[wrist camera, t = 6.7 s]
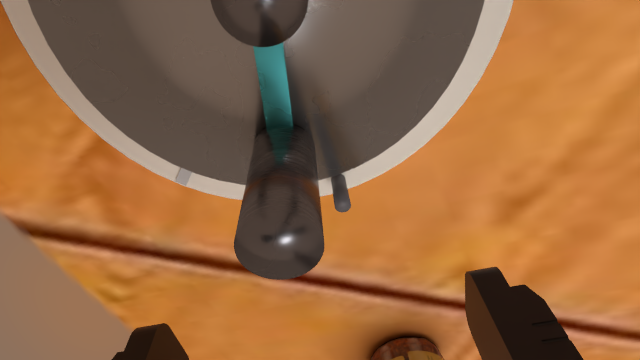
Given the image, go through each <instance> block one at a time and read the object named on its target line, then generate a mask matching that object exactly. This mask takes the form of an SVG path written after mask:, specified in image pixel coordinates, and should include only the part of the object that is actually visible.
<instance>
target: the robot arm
mask: <svg viewBox="0 0 640 360" xmlns="http://www.w3.org/2000/svg"><path fill="white" fill-rule="evenodd" d="M465 308H466V317H467V321H468V325H469V328H470V331H471V334H472V336H473V339H474V341H475V343H476V346H477V348H478V351H479V353H480V355H481V358H482V360H583V358H582V357H581V355H580V354H579V352H578V350H577V349H576V347H575V346H574V344H573V343H572V341H571V340H569V339H568V335H567V334H566V332H565V331H564V329H563V328H562V326H561V325H560V324H559V323H558V322H557V319H556V317H555V316H554V314H553V312H552V311H551V309H550V308H549V306H548V305H547V303H546V302H545V300H544V299H542V298H541V297H540V296H539V295H537V294H536V293H535V292H533V291H532V290H531V289H530V288H528V287H527V286H526V285H519V286H513V287H510V286H509V285H508V283H507V281H506V279H505V278H504V276H503V274H502V273H501V271H500V270H499V269H498V268H497V267H491V268H485V269H479V270H474V271H468V272H466V274H465ZM112 360H189V358H188V355H187V354H186V352H185V350H184V349H183V347H182V346H181V344H180V343H179V341H178V340H177V338H176V336H175V335H174V333H173V332H172V330H171V329H170V327H169V326H168V325H167V324H165V323H163V324H157V325H151V326H146V327H140V328H136V329H135V330H134V331H133V332H132V334H131V336H130V338H129V340H128V343H127V345H126V348H125V350H124V351H123V352H118V353H117V354H116V355H115V356H114V358H113V359H112Z"/></svg>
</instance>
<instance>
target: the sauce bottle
mask: <svg viewBox="0 0 640 360" xmlns="http://www.w3.org/2000/svg"><path fill="white" fill-rule="evenodd" d="M371 360H444V359H443V357H442V355H441V354H440V352H439V350H438V349H437V348H436V346H435V345H434V344H433V343H432V342H430V341H428V340H427V339H425V338H398V339H395V340H393V341H389V342H388V343H386V344H384V345H383V346H381V347H379V348H378V349H377V351H376V352H374V354H373V356H372V357H371Z"/></svg>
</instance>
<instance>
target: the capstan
mask: <svg viewBox="0 0 640 360" xmlns="http://www.w3.org/2000/svg"><path fill="white" fill-rule="evenodd" d="M28 3H29V5H30V8H31V11H32V13H33V16H34V18H35V20H36V22H37V24H38V26H39V28H40V30H41V32H42V34H43V36H44V38H45V40H46V42H47V44H48V46H49V47H50V49H51V50H52V52H53V54H54V55H55V57H56V58H57V60H58V61H59V63H60V65H61V66H62V68H63V69H64V71H65V72H66V74H67V75H68V76H69V78H70V79H71V80H72V81H73V83H74V84H75V85H76V86H77V88H78V89H79V90H80V92H81V93H82V94H83V95H84V97H85V98H86V99H87V100H88V101H89V102H90V103H91V104H92V105H93V106H94V107H95V108H96V109H97V110H98V111H99V112H100V113H101V114H102V115H103V116H104V117H105V118H106V119H107V120H108V121H109V122H111V123H112V124H113V125H114V126H115V127H116V128H118V129H119V130H120V131H121V132H122V133H124V134H125V135H126V136H127V137H129V138H130V139H132V140H133V141H135V142H136V143H137V144H139V145H140V146H142V147H143V148H145V149H146V150H148V151H149V152H151V153H153V154H155V155H157V156H158V157H160V158H162V159H164V160H166V161H168V162H170V163H171V164H173V165H176V166H178V167H181V168H183V169H186V170H188V171H190V172H193V173H195V174H199V175H202V176H205V177H209V178H212V179H216V180H219V181H224V182H230V183H235V184H241V185H245V190H244V195H243V200H242V205H241V210H240V215H239V220H238V225H237V230H236V235H235V240H234V249H235V253H236V256H237V258H238V260H239V261H240V263H241V264H242V265H243V266H244V267H245V268H246V269H248V270H249V271H251V272H252V273H254V274H256V275H258V276H261V277H264V278H268V279H279V280H280V279H290V278H295V277H298V276H301V275H303V274H305V273H307V272H308V271H310V270H311V269H312V268H314V267H315V266H316V265H317V263H318V262H319V261H320V259H321V257H322V255H323V252H324V236H323V225H322V215H321V204H320V194H319V183H318V180H322V179H325V178H329V177H333V176H336V175H338V174H341V173H343V172H346V171H349V170H351V169H354V168H356V167H358V166H360V165H362V164H364V163H365V162H367V161H369V160H371V159H373V158H375V157H377V156H378V155H380V154H381V153H383V152H384V151H385V150H387V149H388V148H390V147H391V146H393V145H394V144H396V143H397V142H398V141H399V140H401V139H402V138H403V137H404V136H405V135H406V134H407V133H409V132H410V131H411V130H412V129H413V128H414V127H415V126H416V125H417V124H418V123H419V122H420V121H421V120H422V119H423V118H424V117H425V116H426V114H427V113H428V112H429V111H430V110H431V109H432V108H433V107H434V105H435V104H436V103H437V101H438V100H439V99H440V97H441V96H442V94H443V93H444V92H445V90H446V89H447V88H448V86H449V85H450V83H451V81H452V79H453V78H454V76H455V74H456V72H457V71H458V69H459V67H460V65H461V64H462V62H463V60H464V57H465V55H466V53H467V50H468V48H469V46H470V44H471V41H472V39H473V37H474V34H475V31H476V28H477V25H478V21H479V18H480V15H481V12H482V8H483V5H484V0H28Z"/></svg>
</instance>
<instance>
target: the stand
mask: <svg viewBox="0 0 640 360" xmlns="http://www.w3.org/2000/svg"><path fill="white" fill-rule="evenodd" d="M0 1H1V3H2V5H3V7H4V9H5V11H6V13H7V15H8V17H9V20H10V22H11V24H12V26H13V28H14V30H15V32H16V34H17V36H18V37H19V39H20V41H21V42H22V44H23V46H24V47H25V49H26V51H27V52H28V54H29V56H30V57H31V59H32V60H33V62H34V64H35V65H36V67H37V68H38V69H39V71H40V72H41V73H42V75H43V76H44V77H45V79H46V80H47V81H48V83H49V84H50V85H51V87H52V88H53V89H54V91H55V92H56V93H57V94H58V96H59V97H60V98H61V99H62V100H63V101H64V102H65V103H66V104H67V105H68V106H69V107H70V109H71V110H72V111H73V112H74V113H75V114H76V115H77V116H78V117H79V118H80V119H81V120H82V121H83V122H84V123H85V124H86V125H88V126H89V127H90V128H91V129H92V130H93V131H94V132H95V133H97V134H98V135H99V136H100V137H101V138H102V139H103V140H105V141H106V142H107V143H109V144H110V145H112V146H113V147H114V148H116V149H117V150H118V151H120V152H121V153H123V154H124V155H125V156H127V157H128V158H130V159H131V160H133V161H135V162H137V163H138V164H140V165H142V166H144V167H145V168H147V169H149V170H150V171H152V172H154V173H156V174H158V175H160V176H163V177H165V178H167V179H169V180H171V181H174V182H176V183H178V184H180V185H183V186H186V187H189V188H192V189H195V190H198V191H201V192H204V193H208V194H213V195H217V196H222V197H226V198H231V199H239V200H243V195H244V190H245V185H241V184H235V183H230V182H224V181H219V180H216V179H212V178H209V177H205V176H202V175H199V174H195V173H193V172H190V171H188V170H186V169H183V168H181V167H178V166H176V165H173V164H171V163H170V162H168V161H166V160H164V159H162V158H160V157H158V156H157V155H155V154H153V153H151V152H149V151H148V150H146V149H145V148H143V147H142V146H140V145H139V144H137V143H136V142H135V141H133V140H132V139H130V138H129V137H127V136H126V135H125V134H124V133H122V132H121V131H120V130H119V129H118V128H116V127H115V126H114V125H113V124H112V123H111V122H109V121H108V120H107V119H106V118H105V117H104V116H103V115H102V114H101V113H100V112H99V111H98V110H97V109H96V108H95V107H94V106H93V105H92V104H91V103H90V102H89V101H88V100H87V99H86V98H85V97H84V95H83V94H82V93H81V92H80V90H79V89H78V88H77V86H76V85H75V84H74V83H73V81H72V80H71V79H70V78H69V76H68V75H67V74H66V72H65V71H64V69H63V68H62V66H61V65H60V63H59V61H58V60H57V58H56V57H55V55H54V54H53V52H52V50H51V49H50V47H49V46H48V44H47V42H46V40H45V38H44V36H43V34H42V32H41V30H40V28H39V26H38V24H37V22H36V20H35V18H34V16H33V13H32V11H31V8H30V5H29V3H28V0H0ZM512 4H513V0H484V5H483V8H482V12H481V15H480V18H479V21H478V25H477V28H476V31H475V34H474V37H473V39H472V41H471V44H470V46H469V48H468V50H467V53H466V55H465V57H464V60H463V62H462V64H461V65H460V67H459V69H458V71H457V72H456V74H455V76H454V78H453V79H452V81H451V83H450V85H449V86H448V88H447V89H446V90H445V92H444V93H443V94H442V96H441V97H440V99H439V100H438V101H437V103H436V104H435V105H434V107H433V108H432V109H431V110H430V111H429V112H428V113H427V114H426V116H425V117H424V118H423V119H422V120H421V121H420V122H419V123H418V124H417V125H416V126H415V127H414V128H413V129H412V130H411V131H410V132H409V133H407V134H406V135H405V136H404V137H403V138H402V139H401V140H399V141H398V142H397V143H396V144H394V145H393V146H391V147H390V148H388V149H387V150H385V151H384V152H383V153H381V154H380V155H378V156H377V157H375V158H373V159H371V160H369V161H367V162H365V163H364V164H362V165H360V166H358V167H356V168H354V169H351V170H349V171H346V172H343V173H341V174H338V175H336V176H333V177H329V178H325V179H322V180H318V183H319V194H320V196H325V195H330V194H333V197H334V204H335V209H336V210H337V211H339V212H346V211H348V210H349V209H350V207H351V204H350V199H349V194H348V189H349V188H352V187H355V186H358V185H360V184H362V183H364V182H366V181H368V180H371V179H373V178H375V177H377V176H379V175H381V174H383V173H385V172H386V171H388V170H390V169H391V168H393V167H394V166H396V165H398V164H399V163H401V162H403V161H404V160H405V159H407V158H408V157H409V156H411V155H412V154H413V153H415V152H416V151H417V150H419V149H420V148H421V147H423V146H424V145H425V144H426V143H427V142H428V141H429V140H430V139H431V138H432V137H433V136H434V135H436V134H437V133H438V132H439V131H440V130H441V129H442V128H443V127H444V126H445V125H446V124H447V123H448V121H449V120H450V119H451V118H452V117H453V115H454V114H455V113H456V112H457V111H458V109H459V108H460V107H461V106H462V105H463V104H464V102H465V101H466V99H467V98H468V96H469V95H470V93H471V92H472V90H473V89H474V87H475V86H476V84H477V83H478V81H479V80H480V78H481V77H482V75H483V73H484V71H485V69H486V67H487V65H488V63H489V62H490V60H491V58H492V56H493V54H494V52H495V50H496V48H497V46H498V43H499V41H500V38H501V35H502V33H503V30H504V28H505V25H506V23H507V20H508V18H509V15H510V11H511V7H512Z"/></svg>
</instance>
